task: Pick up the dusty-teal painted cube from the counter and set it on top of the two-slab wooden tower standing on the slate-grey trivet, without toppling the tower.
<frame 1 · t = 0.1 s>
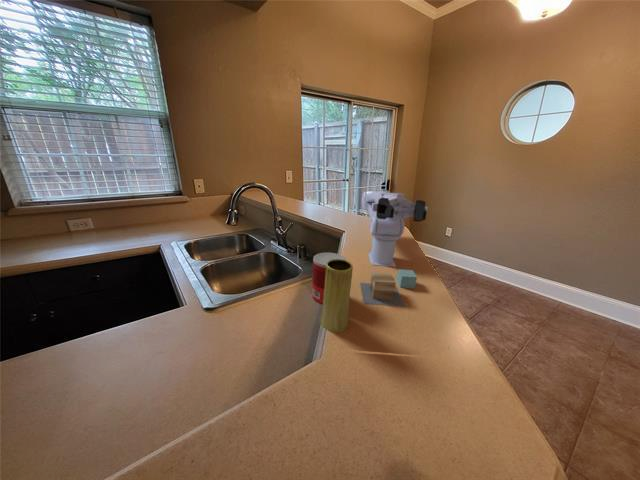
hand: (408, 214, 59), 22 cm above the table, tool horizontal, fingers open, 7 cm apart
vase: (334, 324, 54), on the table
canned food: (327, 298, 63), on the table
cube: (405, 285, 71), on the table
tower base: (380, 293, 65), resting on trivet, touching tower mid
tower mid: (382, 285, 64), point 3 cm above the table, touching tower base
trivet: (380, 295, 65), on the table
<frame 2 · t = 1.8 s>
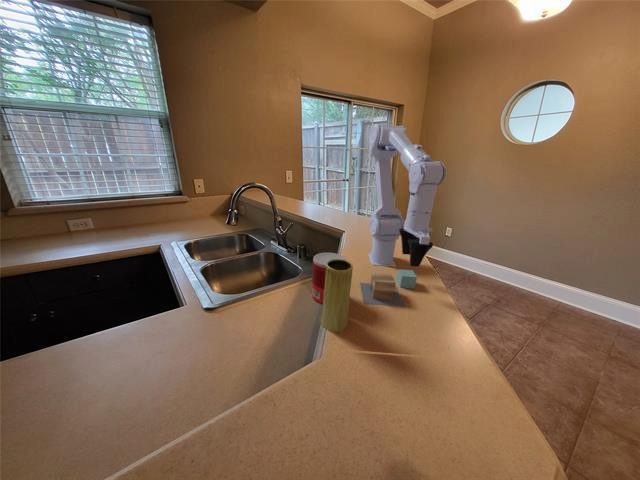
hand: (410, 259, 68), 8 cm above the table, tool pointing down, fingers open, 7 cm apart
nothing on the table moved.
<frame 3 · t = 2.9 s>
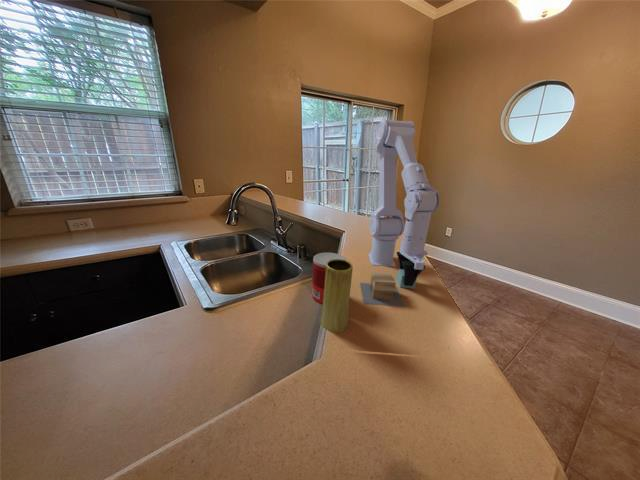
hand: (406, 280, 70), 1 cm above the table, tool pointing down, fingers closed on cube, 4 cm apart
cube: (405, 285, 71), on the table, touching gripper
everything else where it was.
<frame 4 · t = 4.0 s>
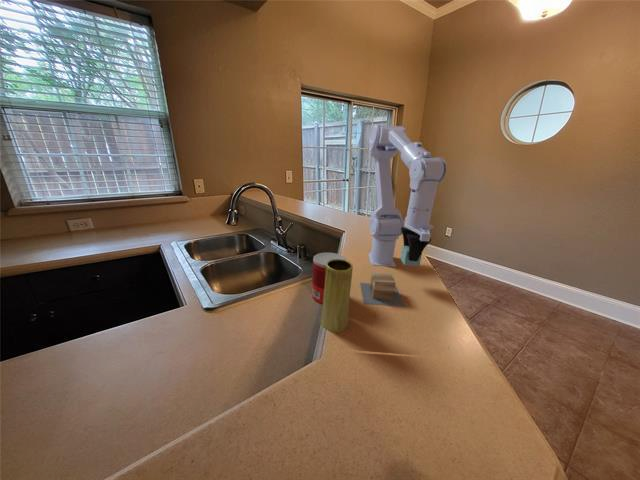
hand: (410, 256, 67), 9 cm above the table, tool pointing down, fingers closed on cube, 4 cm apart
cube: (409, 262, 68), point 7 cm above the table, touching gripper
everything else where it was.
when the fingers open (8 cm above the table, at t = 5.4 s): cube stays where it is, resting on tower mid.
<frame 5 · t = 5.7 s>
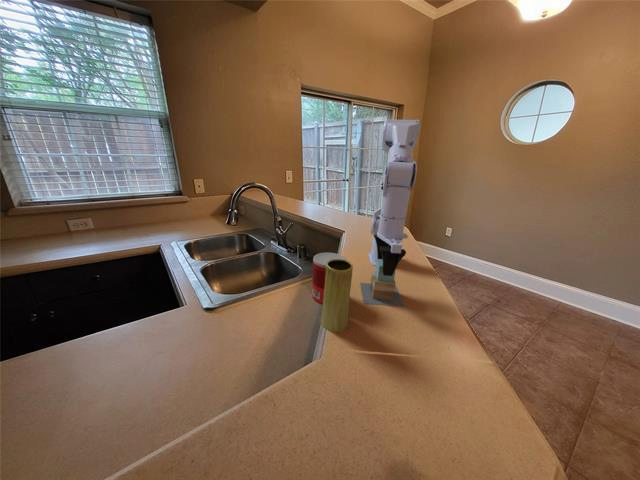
hand: (384, 268, 62), 8 cm above the table, tool pointing down, fingers open, 6 cm apart
cube: (384, 277, 63), point 5 cm above the table, touching tower mid
tower mid: (382, 285, 64), point 3 cm above the table, touching cube, tower base
everything else where it was.
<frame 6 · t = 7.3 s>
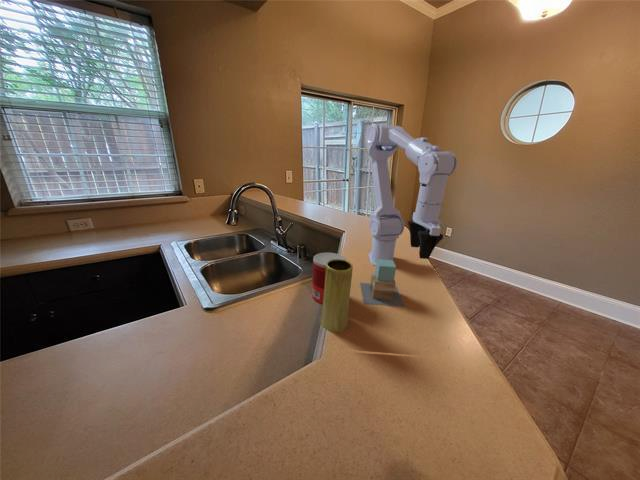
hand: (419, 252, 67), 10 cm above the table, tool pointing down, fingers open, 7 cm apart
nothing on the table moved.
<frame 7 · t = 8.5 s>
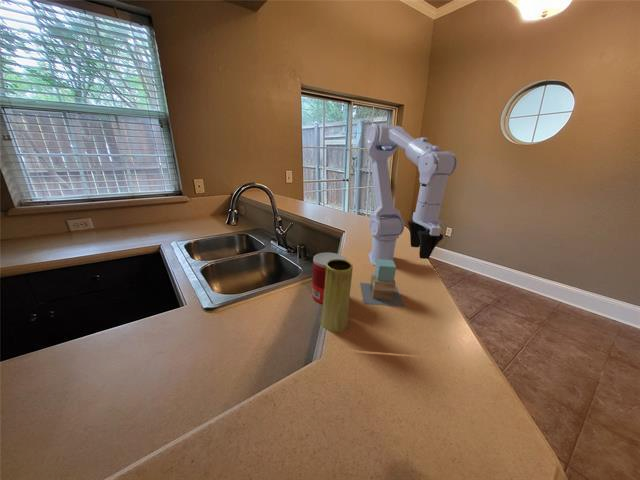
hand: (419, 252, 67), 10 cm above the table, tool pointing down, fingers open, 7 cm apart
nothing on the table moved.
at the end: cube 0.2 cm off-centre on the tower mid, point 2.5 cm above the tower mid's base; tower mid tilted 0°; tower base moved 0.0 cm from its start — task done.
